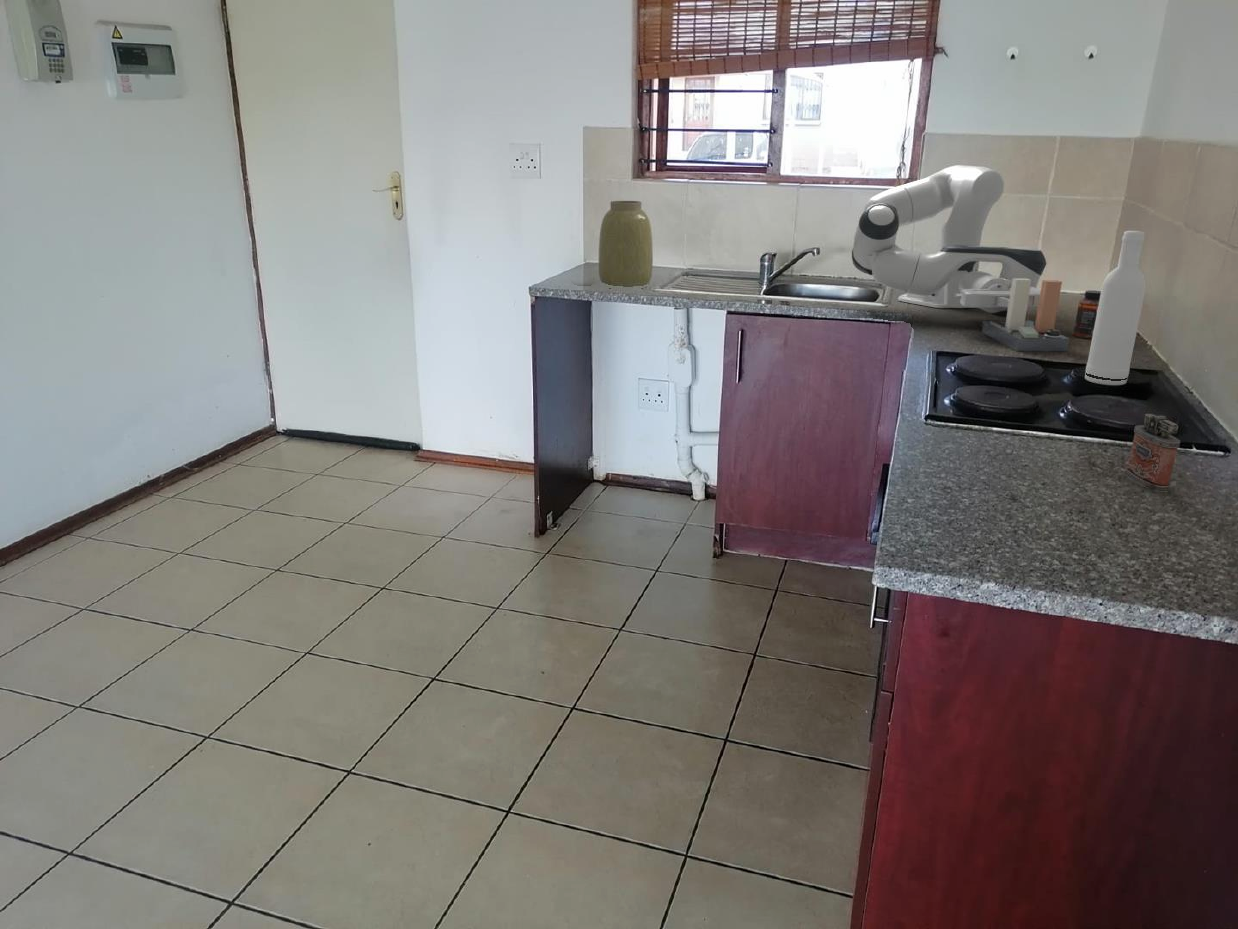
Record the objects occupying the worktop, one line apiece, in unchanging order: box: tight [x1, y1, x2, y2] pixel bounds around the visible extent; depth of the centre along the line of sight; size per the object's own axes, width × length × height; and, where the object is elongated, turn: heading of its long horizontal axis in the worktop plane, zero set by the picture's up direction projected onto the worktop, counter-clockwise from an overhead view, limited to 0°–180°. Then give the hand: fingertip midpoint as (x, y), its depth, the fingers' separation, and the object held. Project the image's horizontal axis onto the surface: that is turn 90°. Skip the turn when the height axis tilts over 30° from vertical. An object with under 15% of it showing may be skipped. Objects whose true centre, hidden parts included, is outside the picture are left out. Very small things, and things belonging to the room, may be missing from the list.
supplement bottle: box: [1073, 289, 1101, 339], centre depth 225 cm, size 6×6×11 cm
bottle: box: [1084, 230, 1147, 386], centre depth 182 cm, size 8×8×30 cm
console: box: [981, 319, 1070, 352], centre depth 221 cm, size 21×12×4 cm, turn 0°
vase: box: [598, 200, 654, 289], centre depth 286 cm, size 17×17×27 cm
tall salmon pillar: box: [1035, 279, 1063, 332], centre depth 215 cm, size 2×4×12 cm
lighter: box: [1124, 413, 1181, 493], centre depth 132 cm, size 8×3×10 cm, turn 5°
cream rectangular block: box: [1005, 278, 1031, 330], centre depth 217 cm, size 2×4×12 cm
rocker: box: [1018, 327, 1039, 338], centre depth 212 cm, size 4×3×1 cm
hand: (1015, 304), depth 219 cm, fingers closed
